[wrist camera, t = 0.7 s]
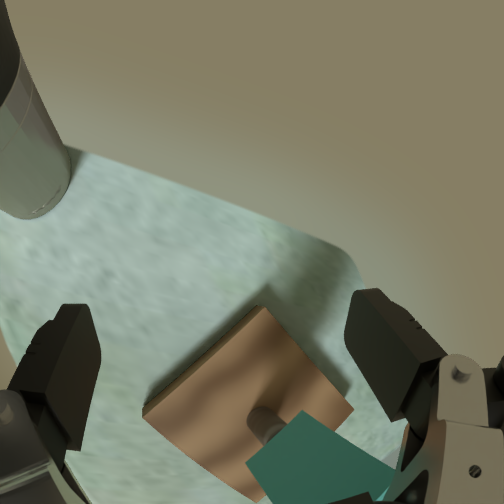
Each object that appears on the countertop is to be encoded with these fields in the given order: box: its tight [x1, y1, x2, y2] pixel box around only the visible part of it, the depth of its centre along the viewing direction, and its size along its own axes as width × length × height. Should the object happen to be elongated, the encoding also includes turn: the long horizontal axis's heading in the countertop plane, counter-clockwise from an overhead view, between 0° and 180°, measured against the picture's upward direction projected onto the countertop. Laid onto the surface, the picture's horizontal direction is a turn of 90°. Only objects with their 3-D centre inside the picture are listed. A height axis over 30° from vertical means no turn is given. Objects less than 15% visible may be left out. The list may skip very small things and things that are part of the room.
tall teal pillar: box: [245, 410, 395, 504], centre depth 16 cm, size 6×6×11 cm
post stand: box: [142, 305, 354, 503], centre depth 26 cm, size 17×16×12 cm
